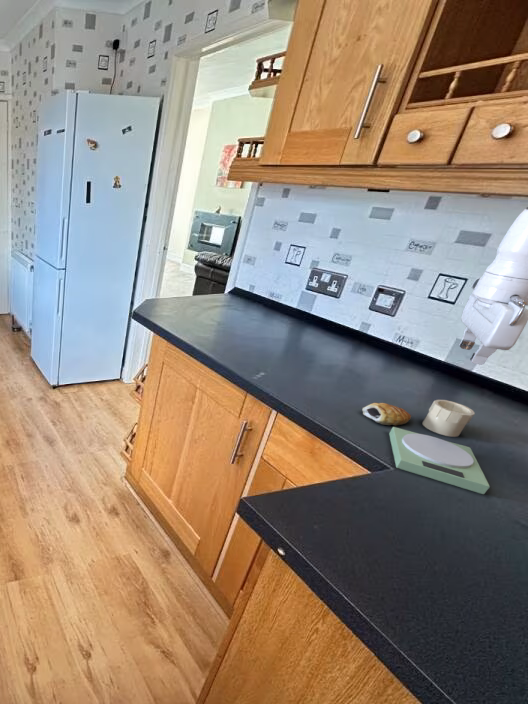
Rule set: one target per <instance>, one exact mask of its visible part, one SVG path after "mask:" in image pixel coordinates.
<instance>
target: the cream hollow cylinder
mask: <svg viewBox="0 0 528 704" xmlns="http://www.w3.org/2000/svg"><path fill="white" fill-rule="evenodd" d="M475 414H476V413H475V411H474V410H473V409H471V408H470V407H468V406H467V405H464V404H461V403H459V402H456V401H451V400H447V399H436V400H433V402H432V404H431V405H430V406H429V408H428V413H427V414H426V416H425V417H424V419H423V420H422V422H421V423H422V426H423V427H424V428H425V429H427V430H429V431H430V432H433V433H435V434H438V435H441V436H445V437H451V438H456V437H459V436H460V435H461V434H462V432H463V430H464V429H465V428H466V425H467V424H469V423H470V422H471V420H472V419H473V417H474V416H475Z"/></svg>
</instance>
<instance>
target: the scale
mask: <svg viewBox="0 0 528 704" xmlns="http://www.w3.org/2000/svg"><path fill="white" fill-rule="evenodd" d="M388 436H389V440H390V444H391V445H390V446H391V449H392V454H393V459H394V463H395V467H396V469H399V470H403V471H405V472H409V473H413V474H415V475H419V476H422V477H426V478H429V479H432V480H435V481H438V482H442V483H445V484H448V485H452V486H454V487H458V488H461V489H465V490H468V491H471V492H473V493H474V492H475V493H477V494H481V495H485V494H486V492H487V491H488V490H489V489H490V487H491V486H490V484H489V482H488V480H487V478H486V476H485V474H484V472H483V470H482V468H481V466H480V464H479V462H478V460H477V458H476V456H475V454H474V452H473V450H472V449H471V447H470V446H466V445H464V444H463V445H462V444H459V443H454V442H451V441H448V440H445V439H441V438H439V437H435V436H431V435H428V434H423V433H418V432H415V431H410V430H407V429H404V428H400V427H397V426H392V427H391V429H390V430H389V433H388Z"/></svg>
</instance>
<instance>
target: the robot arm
mask: <svg viewBox="0 0 528 704" xmlns="http://www.w3.org/2000/svg"><path fill="white" fill-rule="evenodd" d="M471 289H472V292H471V293H470V294H469V297H468V299H467V301H466V304H465V306H464V308H463V310H462V313H461V316H460V321H461V322H462V324H463V325H464V326H466V327H465V328H464V329H463V334H462V337H461V338H462V339H461V340H460V342H459V344H458V346H459V347H460V349H462V350H468V351H470V350H472V349H473V347H474V345H475V344H476V339H477V341H479V342H480V344H479V345H478V347H479V348H478V349H477V350H476V351H475V352H473V353H472V355H471V357H470V359H469V360H470V362H471V363H472V364H474V365H478V366H479V365H480V366H482V365H484V364H485V363H486V362H487V360H488V358H490V357H491V356H492V355H493V354H495V352H497V350H502V351H510V350H511V349H512V348H513V347H515V345H516V343H517V342H518V340H519V338H520V336H521V335H522V333H523V331H524V329H525V327H526V325H527V323H528V309H527V308H526V306H528V206H526V208H524V209H523V210H522V211H521V212H520V213H519V215H518V216H517V217H516V218H515V219H514V221H513V222H512V224H511V225H510V227H509V228H508V230H507V231H506V233H505V235H504V236H503V238H502V239H501V241H500V243H499V245H498V246H497V250H496V254H495V258H494V259H493V261H492V262H491V263H490V264H489V265H488V266H487V267H486V268H485V270H484V272H483V274H482V276H480V277H477V278H476V279H474V281H473V283H472V284H471Z"/></svg>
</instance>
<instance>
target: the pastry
mask: <svg viewBox="0 0 528 704" xmlns="http://www.w3.org/2000/svg"><path fill="white" fill-rule="evenodd" d="M361 412H362V415H363V416H365V417H366V418H368V419H370V420H373V421H374V422H375V423H378V424H381V425H382V426H383V425H384V426H391V425H392V426H400V425H401V426H402V425H404V424H407V423H408V422H409V420H411V419H412V418H411V417H412V415H411V414H410V413H409V412H408V411H406V410H405V409H404V408H402V407H398V406H397V405H393V404H389V403H385V402H373V403H370V404H367V405H366V406H364V407H362V411H361Z"/></svg>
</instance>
